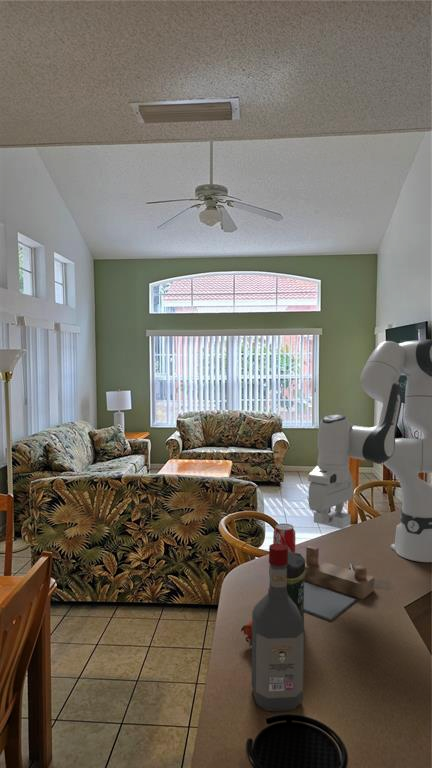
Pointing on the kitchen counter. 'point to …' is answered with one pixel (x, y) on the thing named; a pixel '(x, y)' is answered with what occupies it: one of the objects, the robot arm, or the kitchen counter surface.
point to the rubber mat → (324, 602)
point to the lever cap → (334, 519)
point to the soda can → (285, 536)
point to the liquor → (277, 641)
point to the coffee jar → (296, 580)
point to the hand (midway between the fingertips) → (331, 520)
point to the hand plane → (337, 575)
